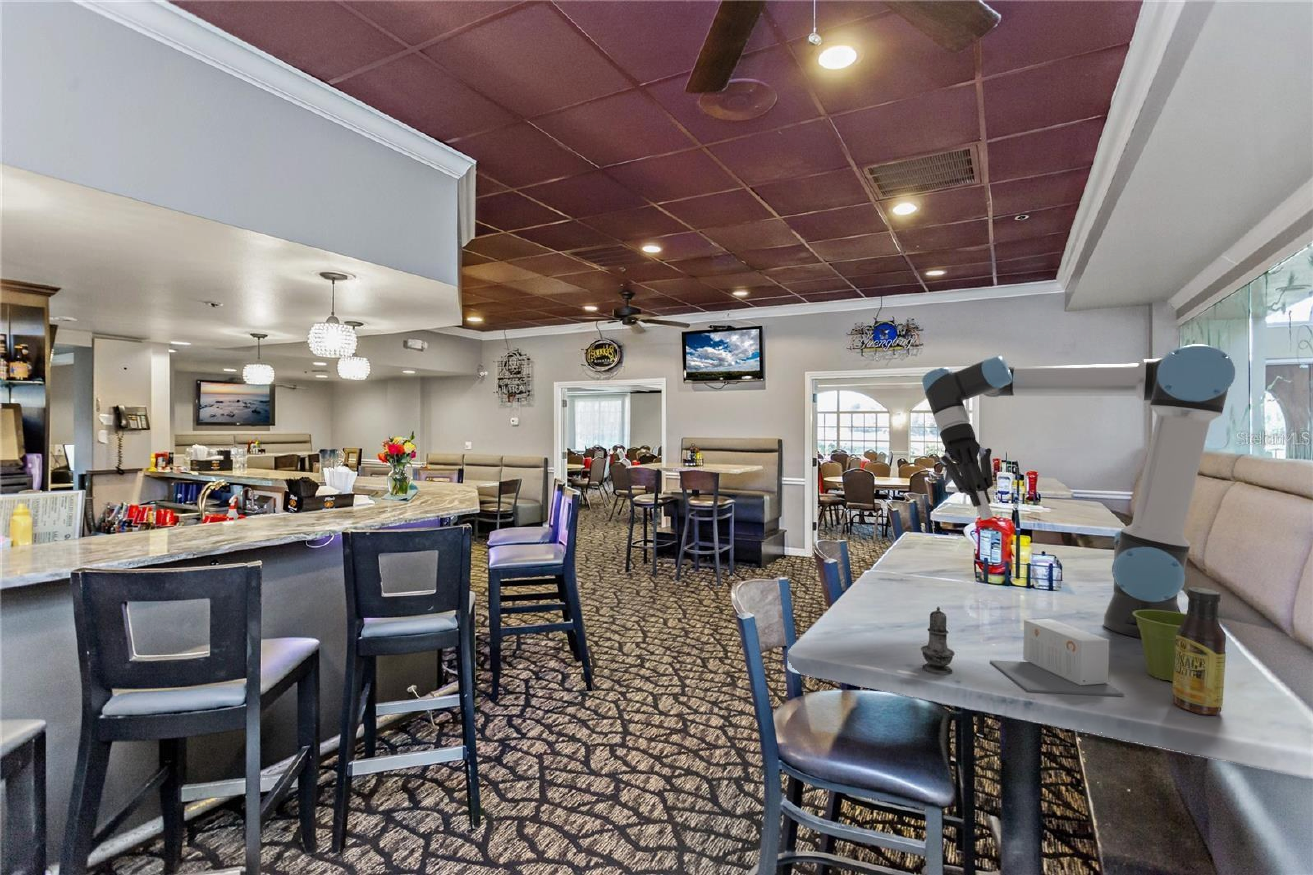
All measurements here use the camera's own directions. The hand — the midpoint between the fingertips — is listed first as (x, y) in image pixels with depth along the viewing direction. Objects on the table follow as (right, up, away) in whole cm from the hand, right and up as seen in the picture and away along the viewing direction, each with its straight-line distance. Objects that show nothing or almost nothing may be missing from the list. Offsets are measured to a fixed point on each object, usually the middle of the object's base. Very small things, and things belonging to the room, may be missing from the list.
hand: (987, 518), depth 146 cm
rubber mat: (-6, -25, -33) cm, 42 cm away
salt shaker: (-25, -25, -29) cm, 46 cm away
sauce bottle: (+10, -26, -45) cm, 53 cm away
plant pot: (+17, -26, -31) cm, 44 cm away
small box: (-3, -21, -24) cm, 32 cm away
